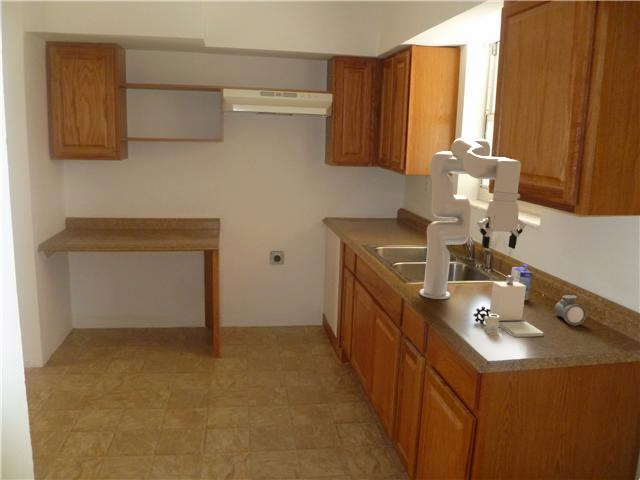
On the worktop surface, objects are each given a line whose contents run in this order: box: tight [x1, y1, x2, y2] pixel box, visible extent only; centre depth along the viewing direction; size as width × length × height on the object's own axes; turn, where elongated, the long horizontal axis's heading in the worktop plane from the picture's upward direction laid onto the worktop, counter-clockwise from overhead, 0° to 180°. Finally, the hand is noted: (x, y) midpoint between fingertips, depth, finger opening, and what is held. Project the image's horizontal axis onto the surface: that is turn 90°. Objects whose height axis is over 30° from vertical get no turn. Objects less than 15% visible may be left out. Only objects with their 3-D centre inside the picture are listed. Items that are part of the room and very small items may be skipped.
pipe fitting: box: [553, 294, 587, 327], centre depth 213 cm, size 12×8×10 cm, turn 3°
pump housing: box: [488, 274, 526, 322], centre depth 208 cm, size 8×11×17 cm
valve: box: [473, 306, 500, 336], centre depth 199 cm, size 7×7×12 cm
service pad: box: [499, 321, 545, 338], centre depth 199 cm, size 11×11×1 cm
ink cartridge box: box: [510, 263, 533, 301], centre depth 239 cm, size 10×6×14 cm, turn 2°
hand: (498, 247), depth 188 cm, fingers open, 9 cm apart
